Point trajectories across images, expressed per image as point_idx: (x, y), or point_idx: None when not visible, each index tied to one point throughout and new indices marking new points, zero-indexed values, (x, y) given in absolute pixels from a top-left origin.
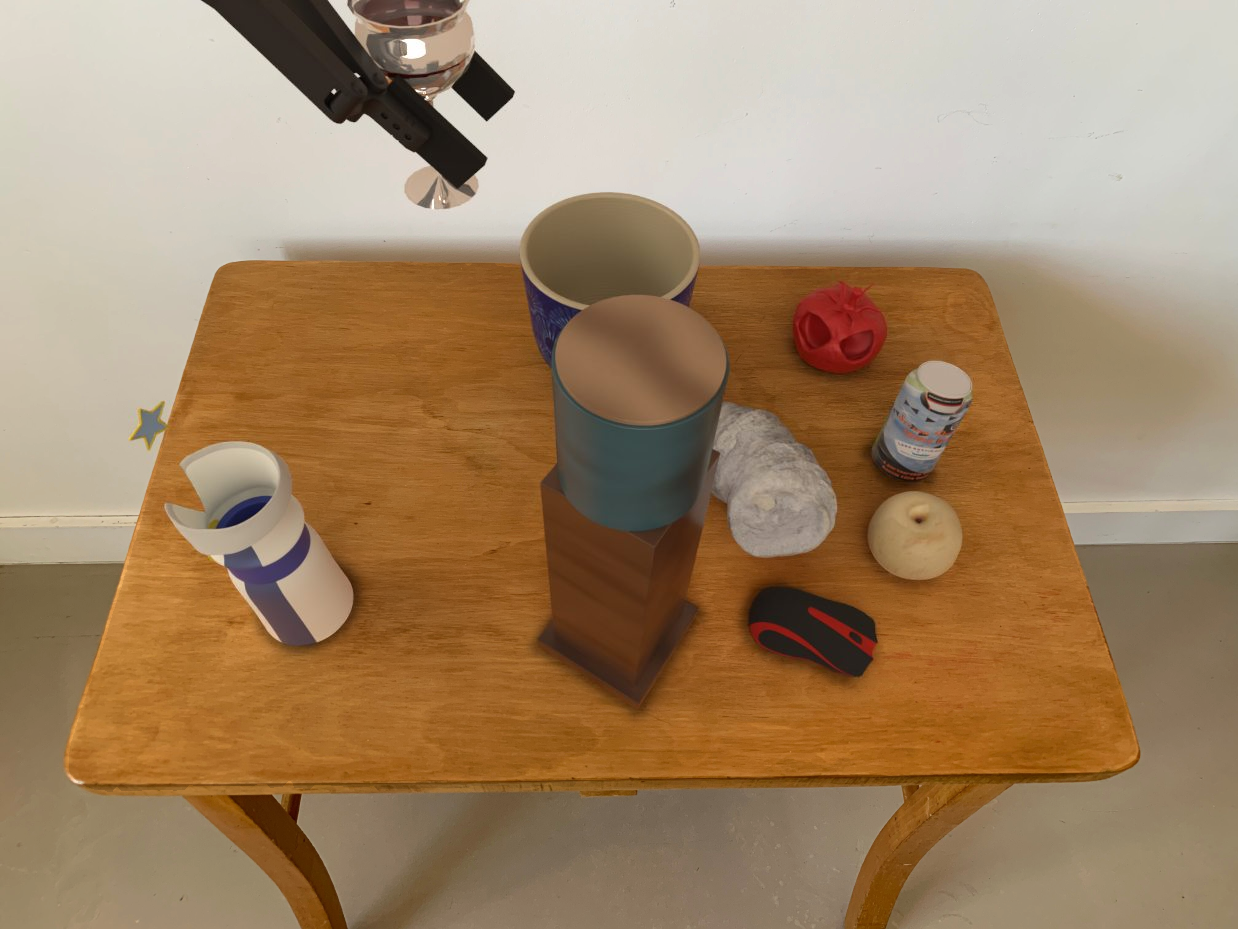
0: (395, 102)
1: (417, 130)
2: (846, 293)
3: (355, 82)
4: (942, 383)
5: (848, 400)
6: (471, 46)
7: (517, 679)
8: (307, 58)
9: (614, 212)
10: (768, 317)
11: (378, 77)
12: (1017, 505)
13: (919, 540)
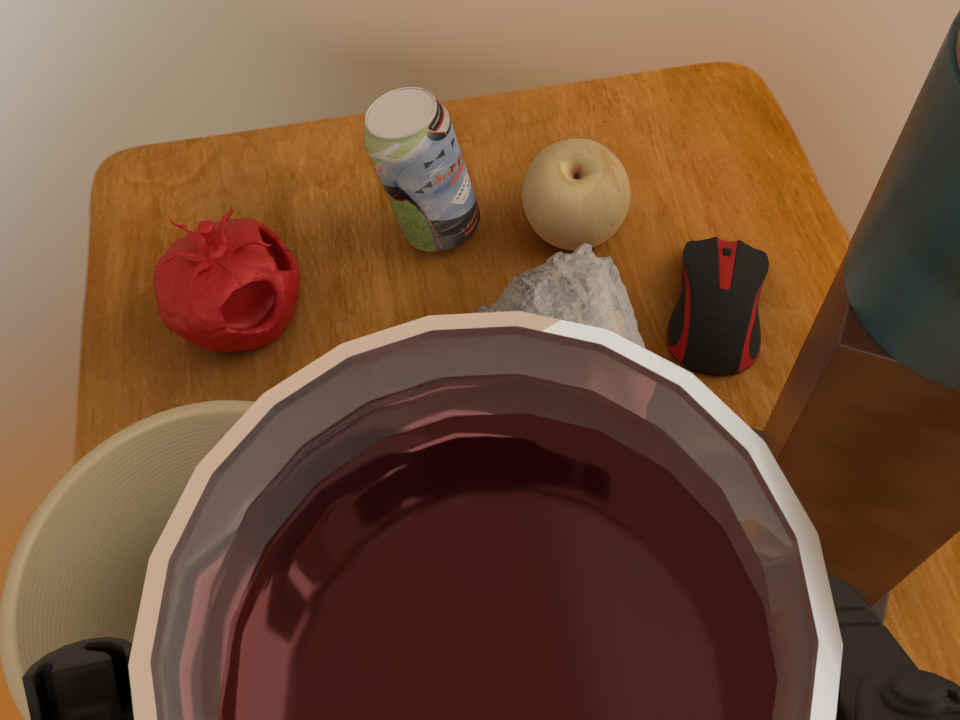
0: (857, 665)
1: (851, 596)
2: (191, 253)
3: None
4: (411, 113)
5: (339, 287)
6: (504, 399)
7: (932, 662)
8: None
9: (40, 602)
10: (175, 399)
11: (931, 690)
12: (477, 123)
13: (612, 171)
